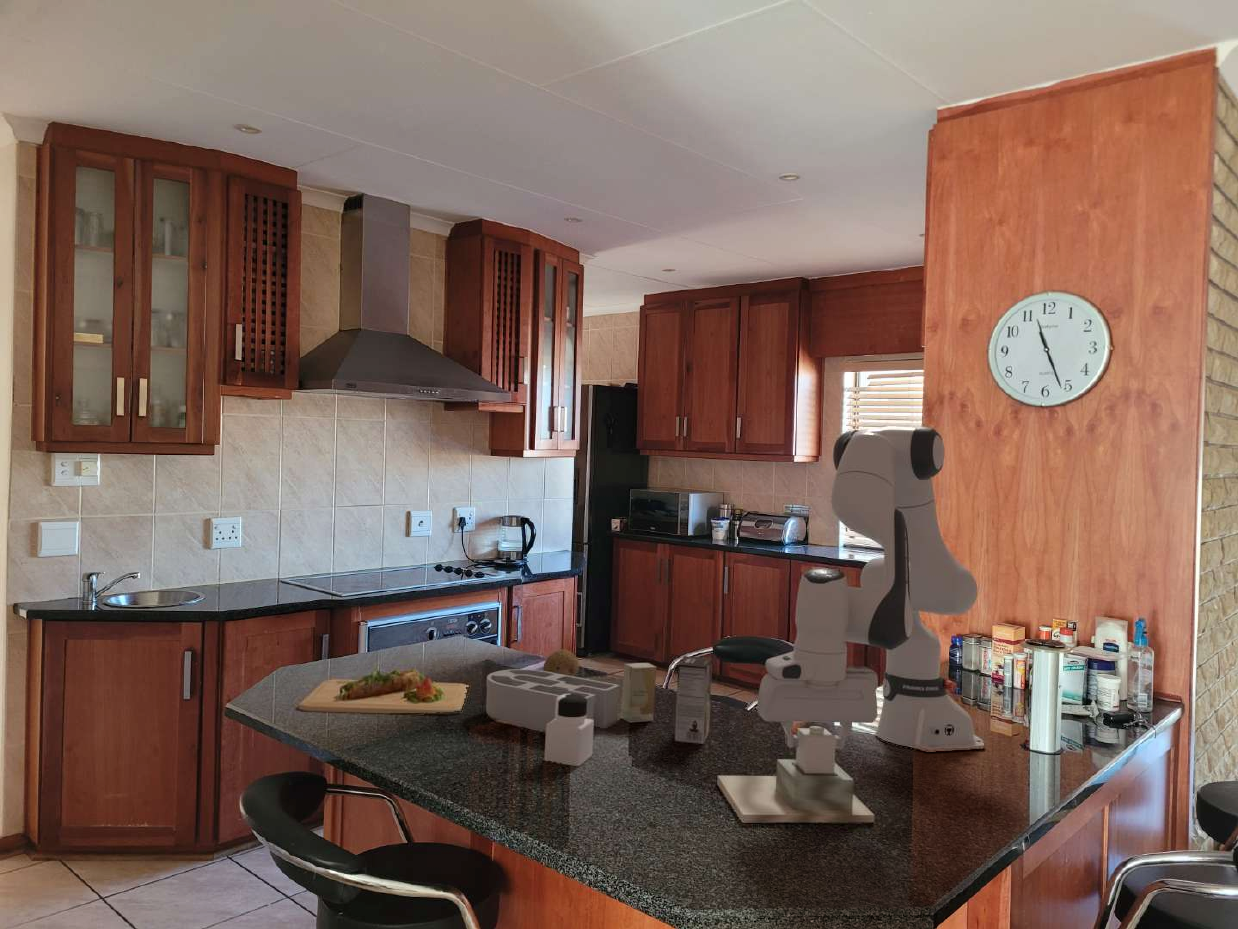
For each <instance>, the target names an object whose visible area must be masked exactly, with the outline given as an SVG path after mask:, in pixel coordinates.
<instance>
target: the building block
mask: <svg viewBox="0 0 1238 929" xmlns="http://www.w3.org/2000/svg"><path fill="white" fill-rule="evenodd" d="M796 736H797V737H798V738H799V742H798V748H795V749H796V753H795V754H796V755H795V760H796V764H797V765H798V766H799V767H800V768H801V769H802V770H803V771H804V772H805V773H834V764H835V763H836V762H835V760H836V759H835V758H836V748H835V744H836V737H835V736H833V734H832V733H831V732H830V731H829V730H828V729H827V728H824V727H822V726H816V725H814V726H813V725H811V726H809V728H808V727H807V728H803V727H802V728H799V727H798V728H797V732H796Z"/></svg>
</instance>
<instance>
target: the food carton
mask: <svg viewBox="0 0 1238 929" xmlns="http://www.w3.org/2000/svg"><path fill="white" fill-rule="evenodd" d="M712 666H713V657H702V656H690V655H689V656H688V655H684V656H683V657H682V659H681V660H680V661H679V663H678V664H677V680H676V681H677V682H676V684H677V686H676V687H677V688H676V706H675V708H676V709H675V726H674V727H675V729H674V731H675V732H674V741H675V742H682V743H692V744H699V745H700V744H701V745H704V744H705V742H706V740H707V738H708V735H709V733H710V718H711V717H710V715H711V714H710V712H711V692H712V673H713V672H712V669H713V667H712Z"/></svg>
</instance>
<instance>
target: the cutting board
mask: <svg viewBox="0 0 1238 929" xmlns="http://www.w3.org/2000/svg"><path fill="white" fill-rule="evenodd" d="M469 686H470V685H469V684H465V683H460V682H459V683H457V682H436V681H435V680H432V679H431V678H428V677H427V678H426V676H425V675H423V674H421V673H420V672H419V670H418V669H415V668H413V669H411V668H408V669H406V670H400V669H394V670H393V671H392V672H388V673H386V674H382V672H380V670H379V669H373V670H372V672H371V673H370V674H368V675H364V676H362V678H361V679H344V678H343V679H339V678H337V679H336V678H335V679H334V678H332V679H328V680H324V681H322V682H321V683H320V684H318V686H316V688H314V690H312V691H311V693H310V694H308V695H307V696H305V698H304V699H303V700H302V701H301V702H300V703H298V704H299V705H298V709H299V710H302V711H307V712H325V713H326V712H329V713H332V712H333V713H357V714H358V713H362V714H365V713H367V714H390V713H422V712H423V713H426V712H427V713H436V712H440V713H441V712H442V713H443V712H454V711H461V709H462V706H463V704H464V701H465V700H464V699H465V698H466V694H465V693H467V689H466V687H469ZM464 705H465V704H464Z"/></svg>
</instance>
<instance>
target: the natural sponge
mask: <svg viewBox="0 0 1238 929" xmlns="http://www.w3.org/2000/svg"><path fill="white" fill-rule="evenodd" d="M579 669H580V663H579V660H578V658H577V657H576V655H575V653H573V652H572V651H570V650H567V649H556V650H555V651H553V652H552V653H550V654H549V655H548V656H547V658H546V659H545V661H544V663H543V669H542V671H547V672H552V673H557V674H563V675H568V676H574V677H578V676H577V675H578V674H579Z"/></svg>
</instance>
